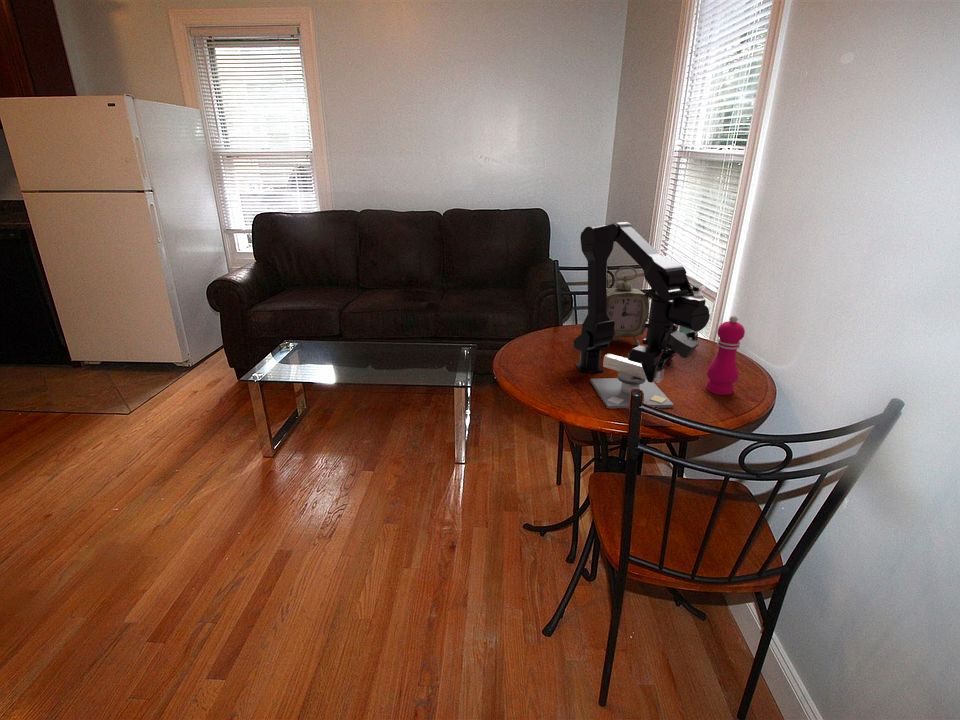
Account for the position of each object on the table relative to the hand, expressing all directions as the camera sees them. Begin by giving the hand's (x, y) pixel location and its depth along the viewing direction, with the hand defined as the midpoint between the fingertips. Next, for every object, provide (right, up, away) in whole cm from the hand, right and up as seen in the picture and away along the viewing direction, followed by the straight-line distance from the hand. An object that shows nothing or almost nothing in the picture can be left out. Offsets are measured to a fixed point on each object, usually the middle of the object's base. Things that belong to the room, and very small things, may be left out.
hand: (652, 380), depth 118 cm
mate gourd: (+12, +4, +26) cm, 29 cm away
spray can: (+23, +9, +36) cm, 44 cm away
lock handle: (-4, 0, +4) cm, 6 cm away
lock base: (-4, -4, +5) cm, 8 cm away
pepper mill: (+20, -3, +8) cm, 22 cm away
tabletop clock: (+3, +11, +41) cm, 43 cm away
